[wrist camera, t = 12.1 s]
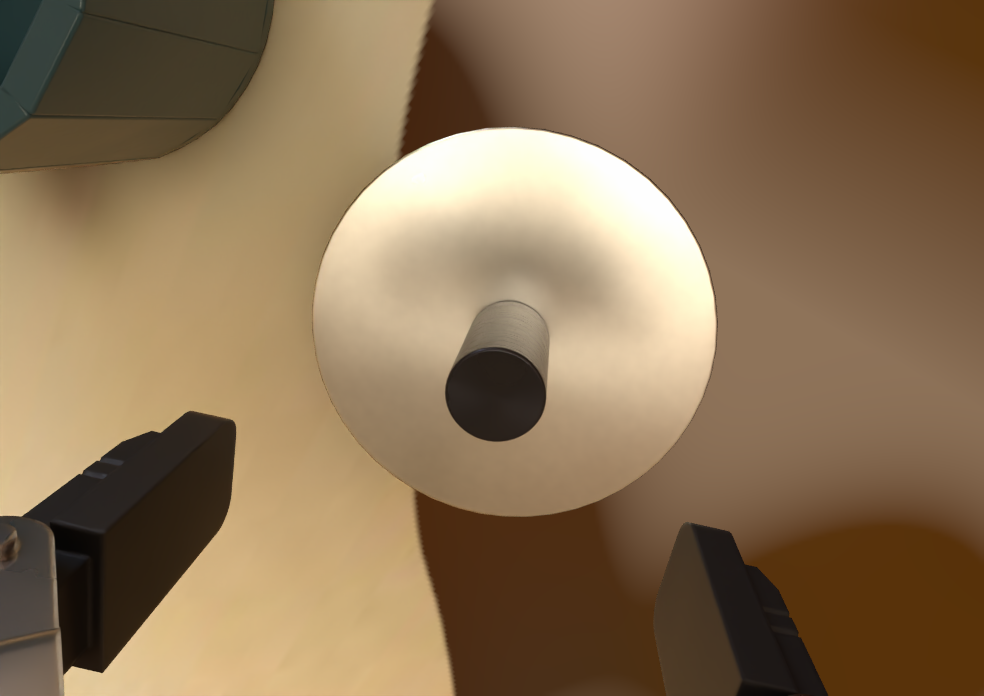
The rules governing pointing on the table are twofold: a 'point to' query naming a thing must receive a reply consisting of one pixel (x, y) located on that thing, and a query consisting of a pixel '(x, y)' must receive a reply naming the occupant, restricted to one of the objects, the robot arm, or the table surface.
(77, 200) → the table surface
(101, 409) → the table surface
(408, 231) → the lid
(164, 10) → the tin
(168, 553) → the robot arm
